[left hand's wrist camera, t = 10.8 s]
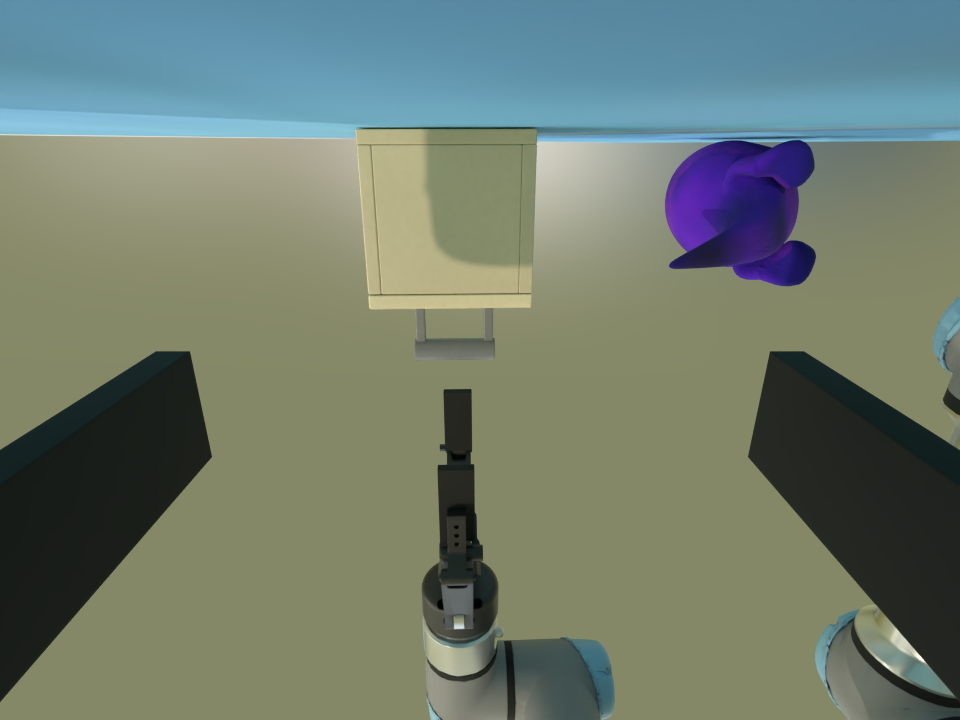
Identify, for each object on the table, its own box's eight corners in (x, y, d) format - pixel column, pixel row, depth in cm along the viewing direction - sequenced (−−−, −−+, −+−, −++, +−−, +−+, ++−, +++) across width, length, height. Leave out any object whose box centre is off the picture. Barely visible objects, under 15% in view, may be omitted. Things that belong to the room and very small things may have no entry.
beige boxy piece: (512, 251, 45) (510, 344, 48) (395, 252, 44) (401, 346, 47) (531, 294, 32) (527, 418, 35) (368, 295, 31) (378, 421, 34)
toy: (865, 140, 48) (768, 117, 72) (659, 190, 53) (632, 153, 77) (860, 303, 55) (772, 233, 79) (678, 335, 59) (647, 259, 83)
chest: (515, 133, 41) (512, 252, 44) (387, 134, 40) (394, 253, 44) (537, 128, 28) (531, 293, 32) (354, 128, 28) (368, 294, 31)
